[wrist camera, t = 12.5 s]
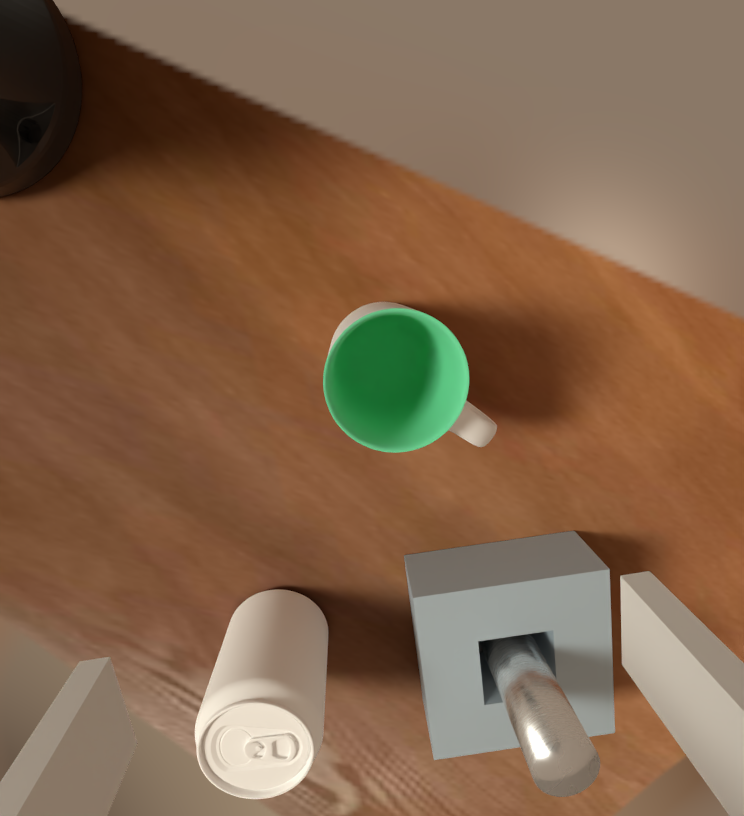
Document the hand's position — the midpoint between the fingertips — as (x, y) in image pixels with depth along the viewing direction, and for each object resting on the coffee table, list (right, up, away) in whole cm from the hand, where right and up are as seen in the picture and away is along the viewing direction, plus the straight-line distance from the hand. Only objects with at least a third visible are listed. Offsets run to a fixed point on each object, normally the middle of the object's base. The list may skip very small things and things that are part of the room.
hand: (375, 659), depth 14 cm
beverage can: (-8, -12, +31) cm, 34 cm away
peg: (+10, -11, +31) cm, 34 cm away
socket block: (+10, -11, +31) cm, 35 cm away
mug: (+2, +9, +26) cm, 28 cm away
